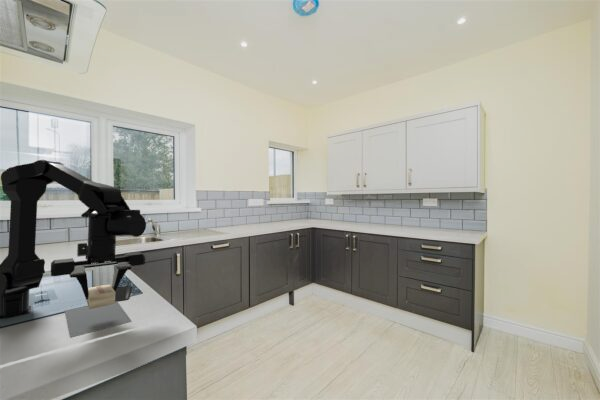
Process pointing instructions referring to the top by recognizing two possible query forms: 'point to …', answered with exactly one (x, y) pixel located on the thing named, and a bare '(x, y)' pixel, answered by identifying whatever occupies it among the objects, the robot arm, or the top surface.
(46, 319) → the top surface
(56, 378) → the top surface
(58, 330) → the top surface
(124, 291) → the phone
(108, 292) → the beige wooden block
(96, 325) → the mat
